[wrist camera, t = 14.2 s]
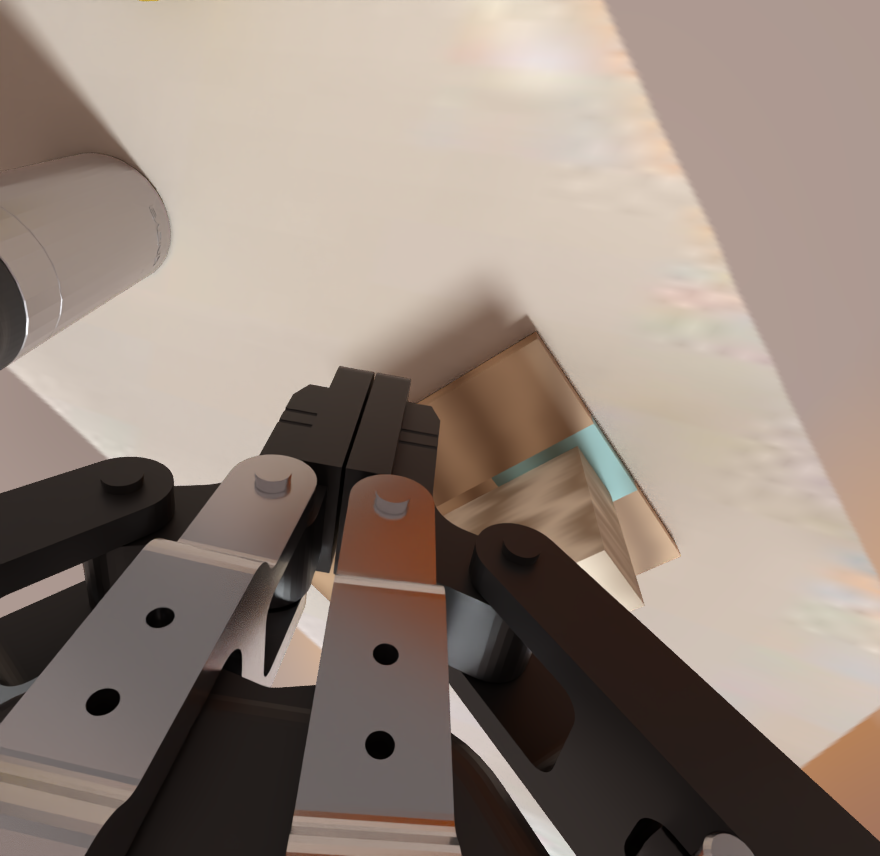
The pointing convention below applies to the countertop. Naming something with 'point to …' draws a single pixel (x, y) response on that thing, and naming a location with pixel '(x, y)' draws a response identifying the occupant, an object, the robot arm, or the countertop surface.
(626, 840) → the robot arm
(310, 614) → the countertop surface
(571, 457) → the birch block
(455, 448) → the trap deck
